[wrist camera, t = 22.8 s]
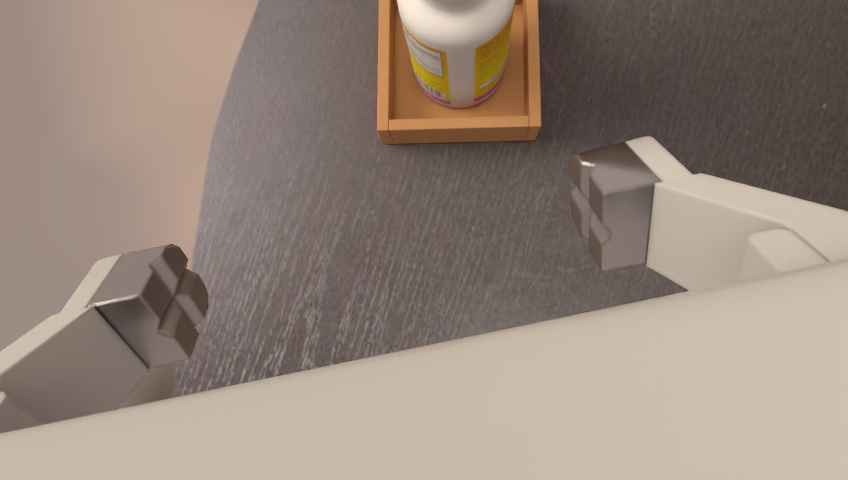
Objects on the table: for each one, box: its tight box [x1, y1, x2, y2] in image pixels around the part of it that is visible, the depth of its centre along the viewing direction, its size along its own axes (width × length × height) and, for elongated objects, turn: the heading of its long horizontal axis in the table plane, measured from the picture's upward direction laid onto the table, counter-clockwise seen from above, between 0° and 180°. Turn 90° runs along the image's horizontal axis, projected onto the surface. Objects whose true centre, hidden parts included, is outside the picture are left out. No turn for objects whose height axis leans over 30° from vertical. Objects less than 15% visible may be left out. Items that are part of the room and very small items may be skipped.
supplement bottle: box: [397, 0, 515, 108], centre depth 30 cm, size 7×7×13 cm
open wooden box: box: [377, 0, 541, 144], centre depth 35 cm, size 11×11×3 cm
